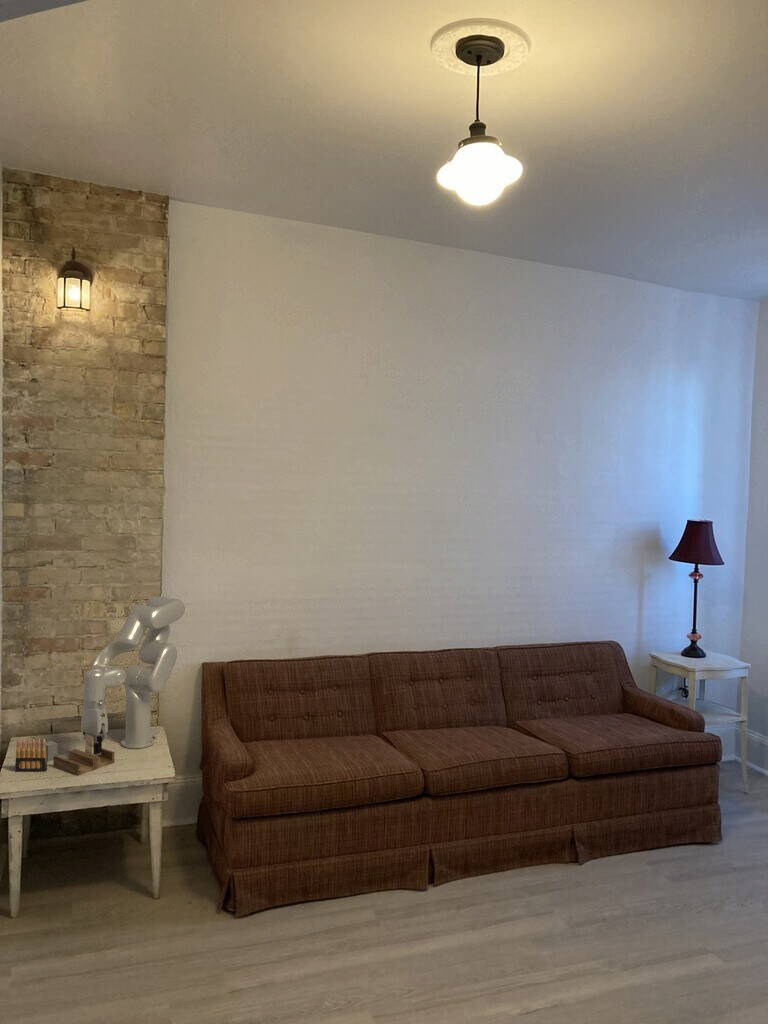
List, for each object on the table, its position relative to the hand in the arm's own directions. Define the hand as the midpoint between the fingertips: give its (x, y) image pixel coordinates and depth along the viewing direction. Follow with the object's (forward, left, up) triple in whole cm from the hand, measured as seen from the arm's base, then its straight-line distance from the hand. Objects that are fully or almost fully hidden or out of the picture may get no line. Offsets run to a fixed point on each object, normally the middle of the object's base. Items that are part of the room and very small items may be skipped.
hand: (93, 751), depth 307 cm
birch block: (0, 0, -1) cm, 1 cm away
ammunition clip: (+19, -10, -4) cm, 22 cm away
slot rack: (+4, 0, -4) cm, 6 cm away
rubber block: (+8, -15, -4) cm, 17 cm away
